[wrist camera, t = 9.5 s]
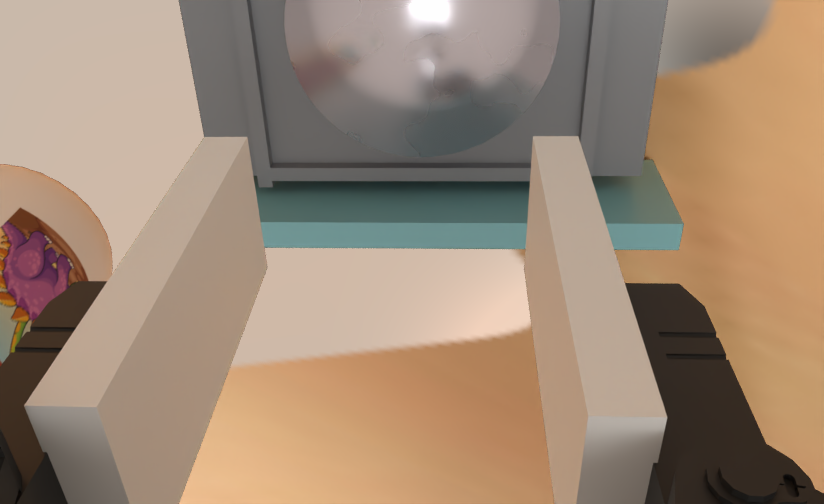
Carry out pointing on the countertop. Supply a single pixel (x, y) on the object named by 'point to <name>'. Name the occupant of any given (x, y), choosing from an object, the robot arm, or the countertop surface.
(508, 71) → the disc
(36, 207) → the milk bottle
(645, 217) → the tray
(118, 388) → the robot arm
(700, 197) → the countertop surface
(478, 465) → the countertop surface
